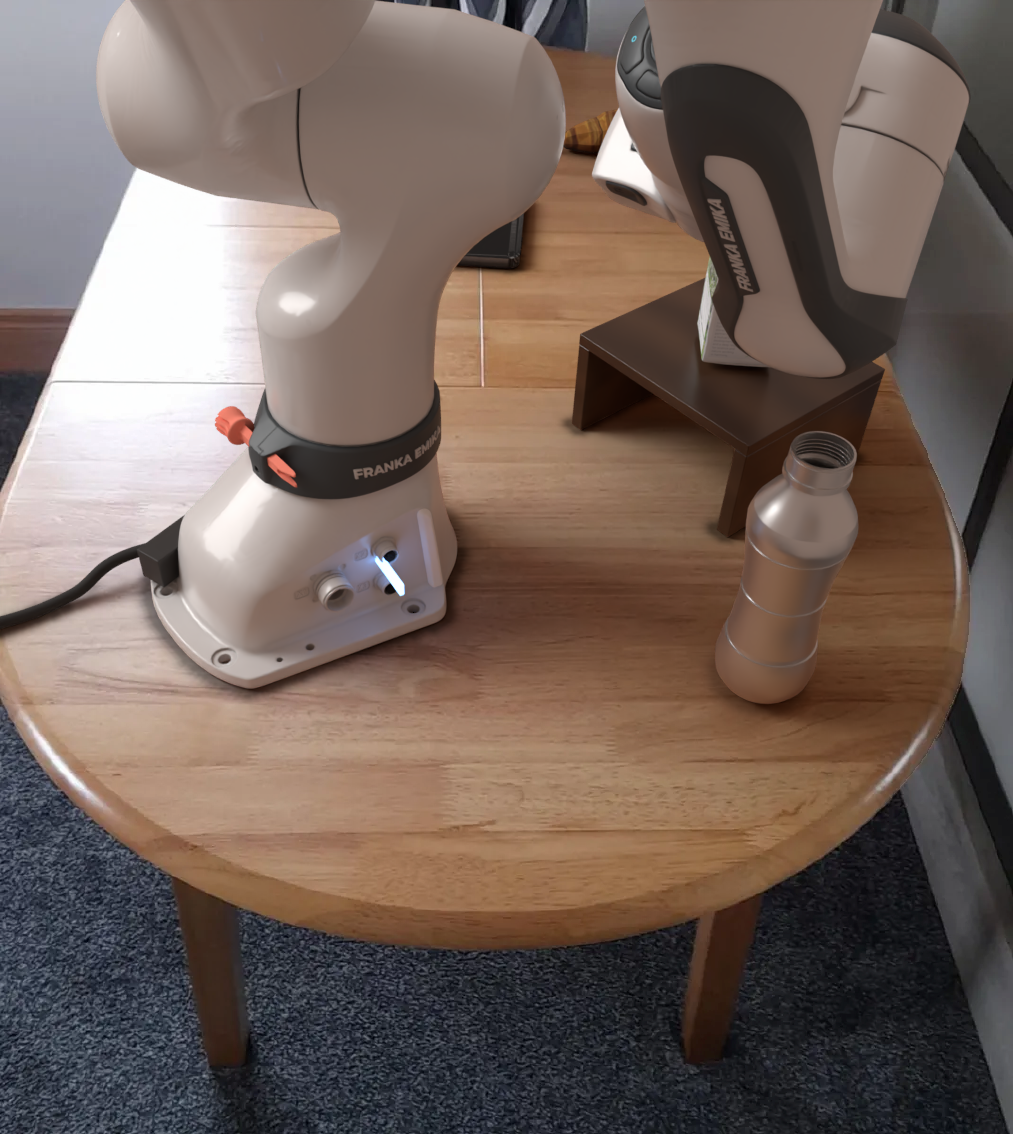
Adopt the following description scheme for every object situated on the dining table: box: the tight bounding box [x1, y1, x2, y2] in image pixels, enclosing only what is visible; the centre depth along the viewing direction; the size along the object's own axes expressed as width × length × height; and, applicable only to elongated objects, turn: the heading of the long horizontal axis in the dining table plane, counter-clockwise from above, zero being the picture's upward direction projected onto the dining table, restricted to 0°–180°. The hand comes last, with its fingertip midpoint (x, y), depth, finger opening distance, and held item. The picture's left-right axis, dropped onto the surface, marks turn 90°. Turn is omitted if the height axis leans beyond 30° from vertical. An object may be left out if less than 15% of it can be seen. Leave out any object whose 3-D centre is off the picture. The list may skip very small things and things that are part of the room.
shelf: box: [571, 276, 886, 538], centre depth 95 cm, size 16×18×9 cm
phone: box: [457, 212, 525, 269], centre depth 122 cm, size 8×1×15 cm
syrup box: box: [697, 256, 769, 367], centre depth 87 cm, size 6×6×14 cm
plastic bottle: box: [714, 431, 859, 705], centre depth 72 cm, size 6×7×20 cm
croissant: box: [563, 108, 618, 154], centre depth 136 cm, size 14×7×5 cm, turn 98°
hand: (757, 245), depth 86 cm, fingers closed on syrup box, 7 cm apart
